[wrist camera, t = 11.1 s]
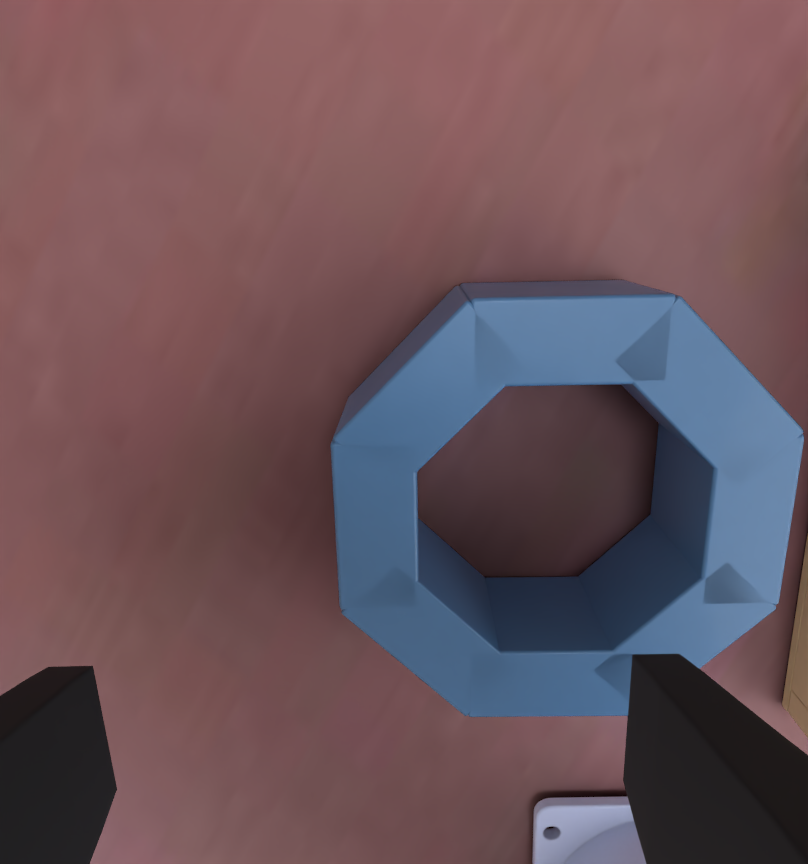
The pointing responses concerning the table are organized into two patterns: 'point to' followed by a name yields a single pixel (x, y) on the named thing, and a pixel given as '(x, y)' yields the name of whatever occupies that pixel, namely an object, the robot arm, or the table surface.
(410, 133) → the table surface
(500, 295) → the ring
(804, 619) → the tray
